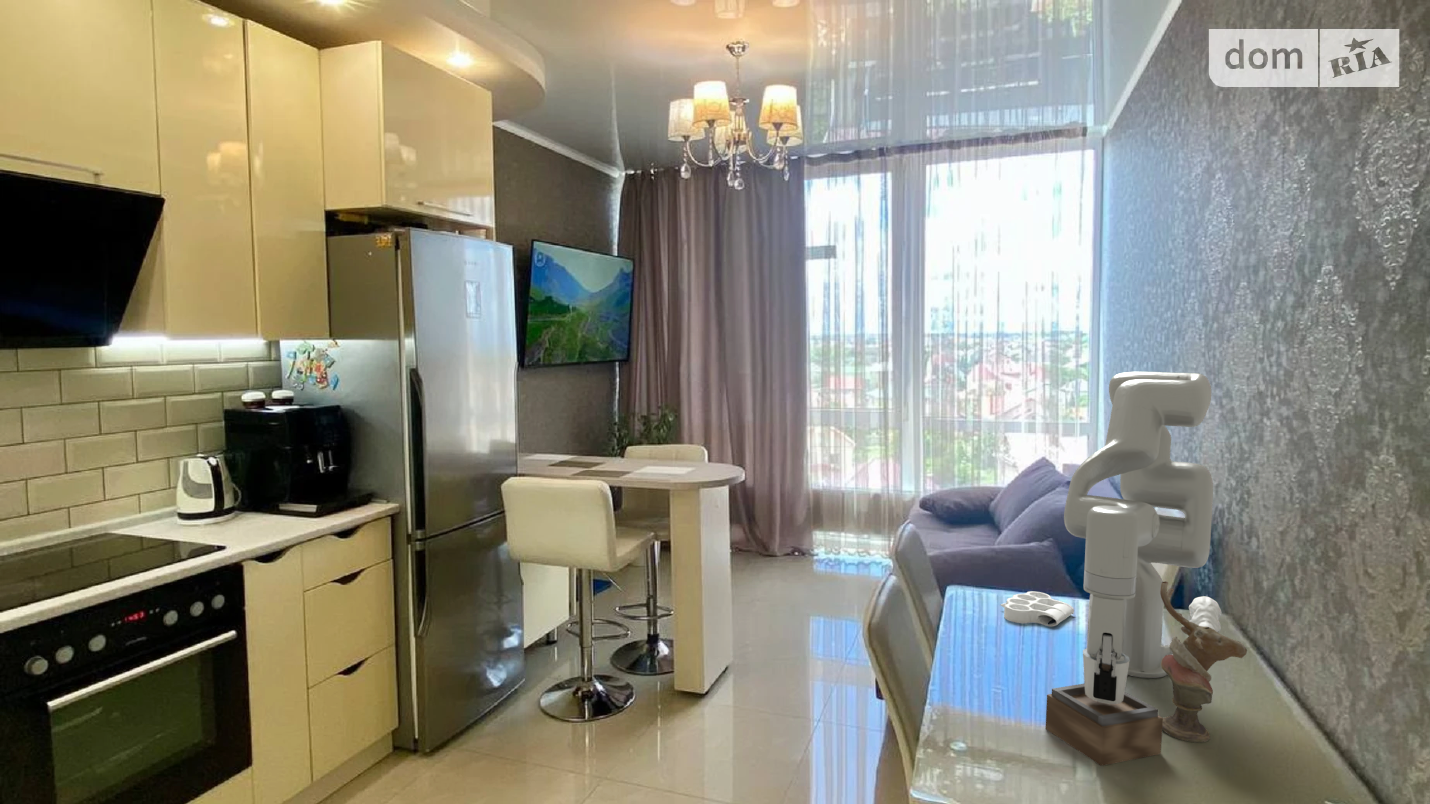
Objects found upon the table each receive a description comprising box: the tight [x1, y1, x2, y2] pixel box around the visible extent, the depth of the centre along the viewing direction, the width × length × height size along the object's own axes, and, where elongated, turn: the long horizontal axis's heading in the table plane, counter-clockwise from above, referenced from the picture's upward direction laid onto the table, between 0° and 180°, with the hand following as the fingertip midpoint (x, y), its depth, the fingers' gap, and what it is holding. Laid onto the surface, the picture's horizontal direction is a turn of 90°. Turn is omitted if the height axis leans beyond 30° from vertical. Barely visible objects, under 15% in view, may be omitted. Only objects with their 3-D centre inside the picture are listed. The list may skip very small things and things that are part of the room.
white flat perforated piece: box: [999, 590, 1075, 627], centre depth 186 cm, size 3×18×15 cm
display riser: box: [1045, 682, 1164, 767], centre depth 126 cm, size 12×12×7 cm
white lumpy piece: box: [1188, 595, 1222, 633], centre depth 171 cm, size 6×8×12 cm
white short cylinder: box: [1082, 647, 1130, 704], centre depth 125 cm, size 7×7×7 cm
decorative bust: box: [1160, 581, 1248, 743], centre depth 129 cm, size 11×13×25 cm
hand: (1104, 689), depth 126 cm, fingers closed on white short cylinder, 6 cm apart
